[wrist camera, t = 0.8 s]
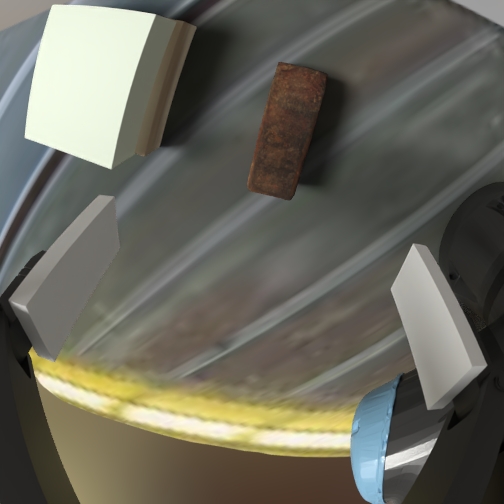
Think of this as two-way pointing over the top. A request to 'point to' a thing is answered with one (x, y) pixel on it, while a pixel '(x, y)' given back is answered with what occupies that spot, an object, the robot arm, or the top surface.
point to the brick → (286, 130)
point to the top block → (95, 80)
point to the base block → (164, 88)
